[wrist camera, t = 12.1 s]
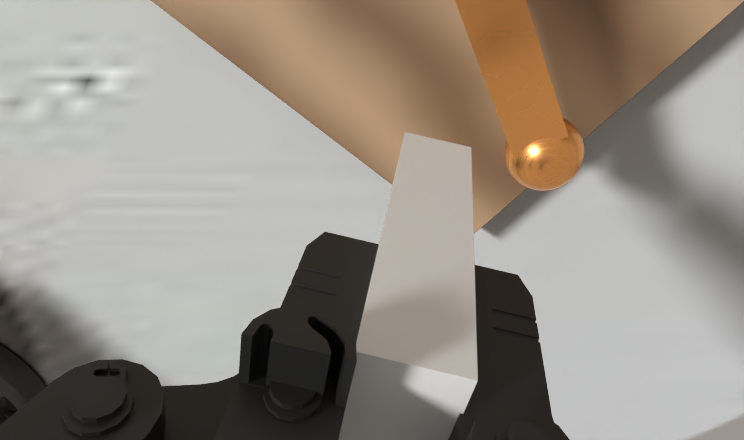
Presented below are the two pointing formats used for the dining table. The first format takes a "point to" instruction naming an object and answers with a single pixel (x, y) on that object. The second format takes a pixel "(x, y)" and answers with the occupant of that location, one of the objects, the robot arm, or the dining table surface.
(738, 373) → the dining table surface
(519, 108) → the capstan
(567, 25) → the wooden cutting board
